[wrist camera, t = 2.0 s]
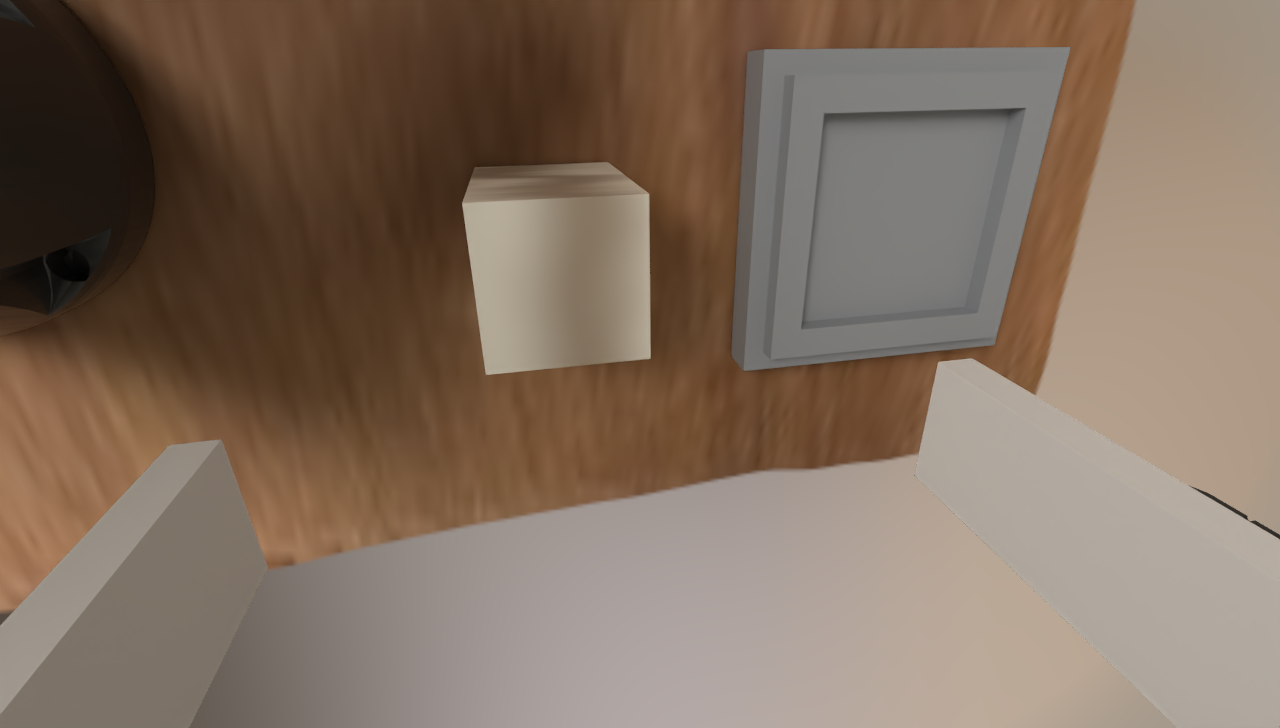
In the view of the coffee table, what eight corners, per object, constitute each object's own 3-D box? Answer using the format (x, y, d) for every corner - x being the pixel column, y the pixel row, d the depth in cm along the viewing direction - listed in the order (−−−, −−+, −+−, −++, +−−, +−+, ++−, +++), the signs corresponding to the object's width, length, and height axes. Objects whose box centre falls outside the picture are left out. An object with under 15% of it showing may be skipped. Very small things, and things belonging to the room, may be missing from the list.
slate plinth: (730, 355, 34) (750, 379, 31) (747, 51, 27) (774, 48, 24) (970, 332, 36) (1007, 351, 33) (1036, 49, 30) (1088, 46, 27)
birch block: (490, 295, 29) (485, 375, 21) (474, 167, 27) (461, 203, 19) (612, 286, 31) (650, 358, 23) (607, 162, 28) (649, 193, 20)
